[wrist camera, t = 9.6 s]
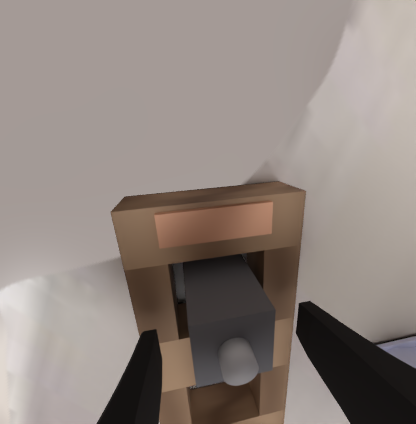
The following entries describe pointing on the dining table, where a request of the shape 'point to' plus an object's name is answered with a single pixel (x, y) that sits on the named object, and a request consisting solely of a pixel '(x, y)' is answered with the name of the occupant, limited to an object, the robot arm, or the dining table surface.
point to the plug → (228, 321)
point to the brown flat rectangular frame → (203, 249)
